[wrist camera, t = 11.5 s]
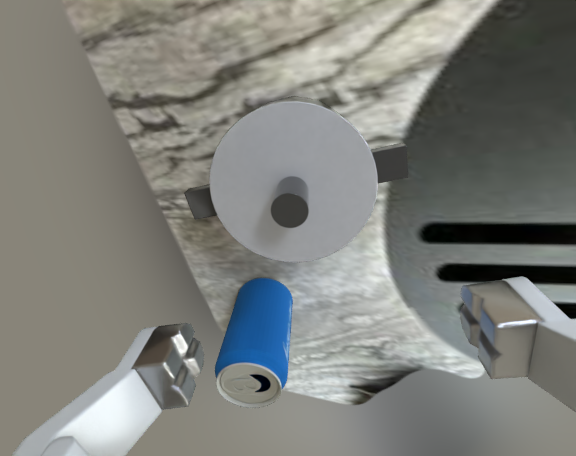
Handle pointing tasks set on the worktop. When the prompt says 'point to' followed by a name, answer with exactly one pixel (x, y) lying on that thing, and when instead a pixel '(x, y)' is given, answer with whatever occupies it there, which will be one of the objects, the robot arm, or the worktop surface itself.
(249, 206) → the pot lid
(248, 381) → the beverage can
